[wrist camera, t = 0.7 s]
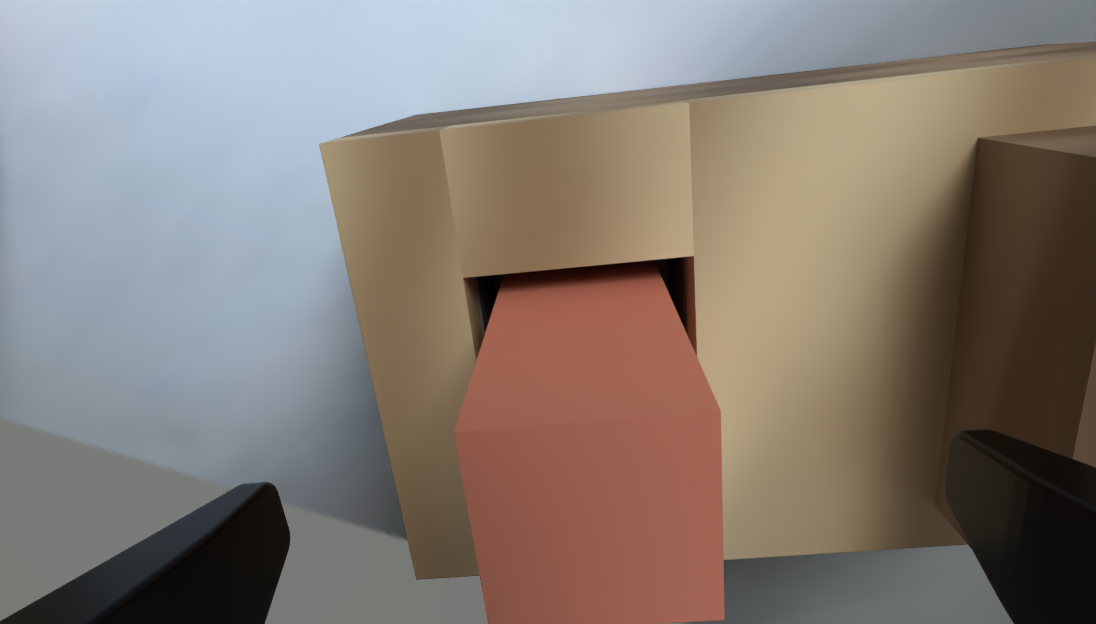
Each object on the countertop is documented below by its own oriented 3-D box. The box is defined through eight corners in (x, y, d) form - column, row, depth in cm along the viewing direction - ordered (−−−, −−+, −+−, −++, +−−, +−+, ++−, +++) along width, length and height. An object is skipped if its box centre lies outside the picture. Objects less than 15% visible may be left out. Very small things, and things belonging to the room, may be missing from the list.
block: (643, 236, 15) (720, 410, 7) (650, 357, 16) (724, 619, 8) (512, 248, 15) (453, 431, 7) (527, 368, 16) (489, 633, 8)
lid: (1302, 31, 11) (1706, 10, 7) (1176, 496, 14) (1406, 658, 10) (339, 138, 12) (229, 170, 8) (425, 547, 15) (376, 711, 11)
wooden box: (1044, 44, 16) (1296, 31, 11) (997, 370, 19) (1172, 493, 14) (415, 115, 17) (341, 137, 12) (466, 413, 20) (427, 543, 15)
